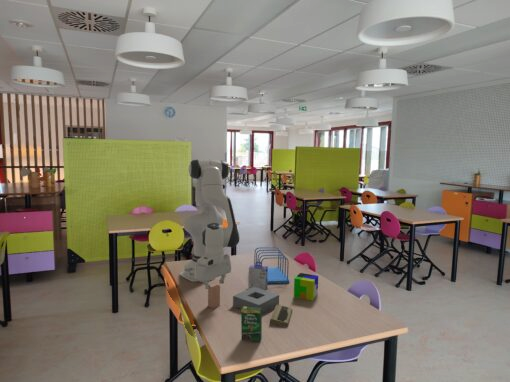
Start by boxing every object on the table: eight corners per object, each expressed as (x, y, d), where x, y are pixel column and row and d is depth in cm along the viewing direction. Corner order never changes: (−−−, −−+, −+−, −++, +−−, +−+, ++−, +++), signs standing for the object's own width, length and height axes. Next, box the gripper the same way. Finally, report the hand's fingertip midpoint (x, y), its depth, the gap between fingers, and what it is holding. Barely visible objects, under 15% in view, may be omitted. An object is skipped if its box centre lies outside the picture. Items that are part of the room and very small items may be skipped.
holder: (232, 305, 173) (233, 295, 173) (253, 296, 186) (253, 286, 185) (258, 315, 163) (259, 304, 163) (278, 304, 176) (279, 294, 175)
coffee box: (240, 340, 141) (240, 308, 140) (242, 336, 144) (242, 305, 143) (260, 343, 139) (260, 310, 138) (261, 339, 142) (262, 307, 141)
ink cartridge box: (267, 287, 198) (268, 262, 197) (266, 291, 193) (266, 265, 191) (250, 285, 200) (250, 260, 199) (248, 289, 195) (248, 263, 193)
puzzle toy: (317, 293, 190) (318, 275, 189) (312, 300, 181) (313, 281, 180) (299, 290, 195) (300, 272, 194) (293, 297, 186) (294, 278, 185)
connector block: (208, 305, 173) (208, 285, 172) (213, 303, 176) (214, 283, 175) (213, 308, 170) (214, 287, 169) (219, 305, 173) (220, 285, 172)
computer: (287, 327, 153) (288, 320, 153) (269, 325, 155) (269, 318, 155) (292, 312, 168) (292, 305, 168) (275, 310, 170) (275, 303, 170)
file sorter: (289, 283, 205) (290, 257, 204) (259, 284, 202) (260, 258, 201) (279, 269, 230) (279, 246, 228) (252, 270, 227) (253, 247, 225)
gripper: (224, 252, 180) (224, 279, 182) (194, 261, 164) (194, 290, 166) (234, 254, 177) (234, 281, 178) (203, 263, 161) (204, 293, 162)
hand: (214, 286), depth 172 cm, fingers open, 8 cm apart
